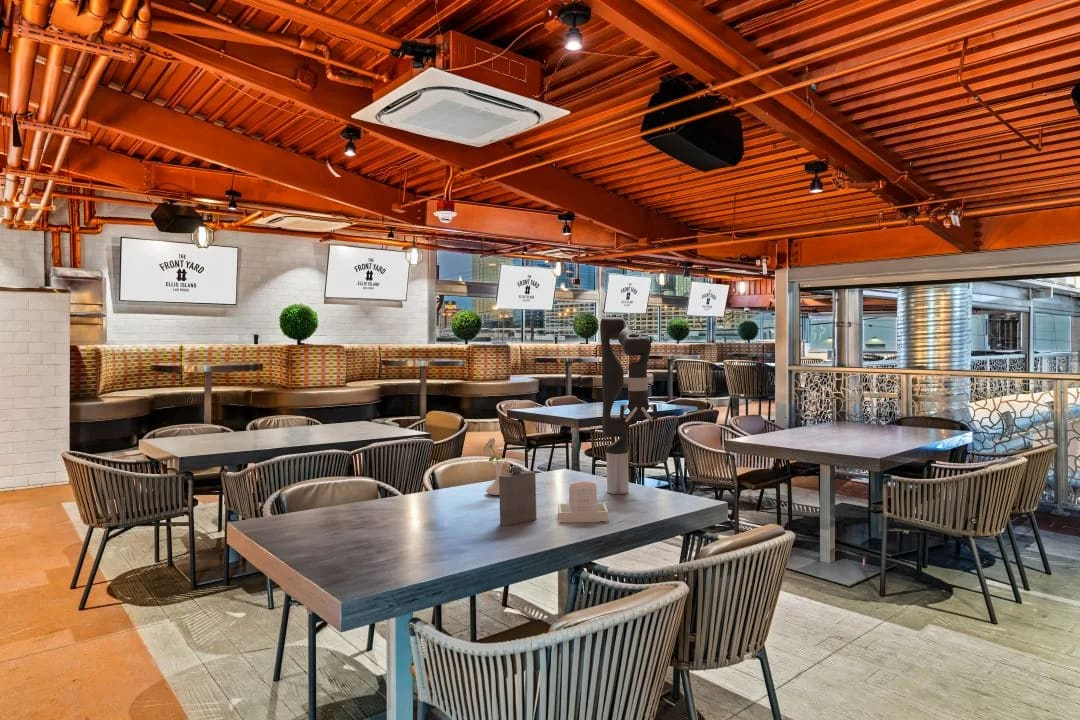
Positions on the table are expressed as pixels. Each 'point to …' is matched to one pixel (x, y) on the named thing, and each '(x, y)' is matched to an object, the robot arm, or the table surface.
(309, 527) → the table surface
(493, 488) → the flower in vase
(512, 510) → the flask
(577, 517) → the trough
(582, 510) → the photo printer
